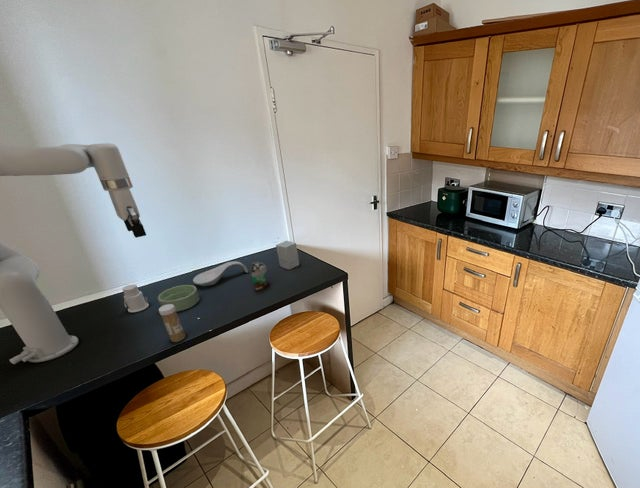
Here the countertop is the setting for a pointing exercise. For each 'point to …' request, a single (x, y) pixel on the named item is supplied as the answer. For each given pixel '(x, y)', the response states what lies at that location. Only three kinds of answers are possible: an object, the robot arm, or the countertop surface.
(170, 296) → the bowl
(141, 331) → the countertop surface
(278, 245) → the white packaging box
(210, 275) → the spoon rest
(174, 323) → the sprinkles bottle
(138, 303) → the downlight
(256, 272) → the figurine
